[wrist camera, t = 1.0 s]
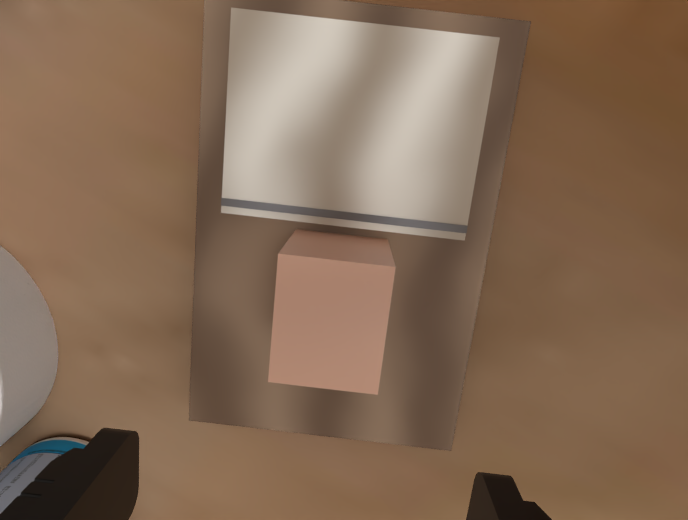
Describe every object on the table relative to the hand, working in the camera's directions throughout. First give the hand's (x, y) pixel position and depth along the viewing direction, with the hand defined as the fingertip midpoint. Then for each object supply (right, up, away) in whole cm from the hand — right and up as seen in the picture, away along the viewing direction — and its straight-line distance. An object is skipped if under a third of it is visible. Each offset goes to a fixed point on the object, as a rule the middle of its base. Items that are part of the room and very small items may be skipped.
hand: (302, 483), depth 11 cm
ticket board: (+1, +7, +17) cm, 18 cm away
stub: (+1, +4, +16) cm, 16 cm away
